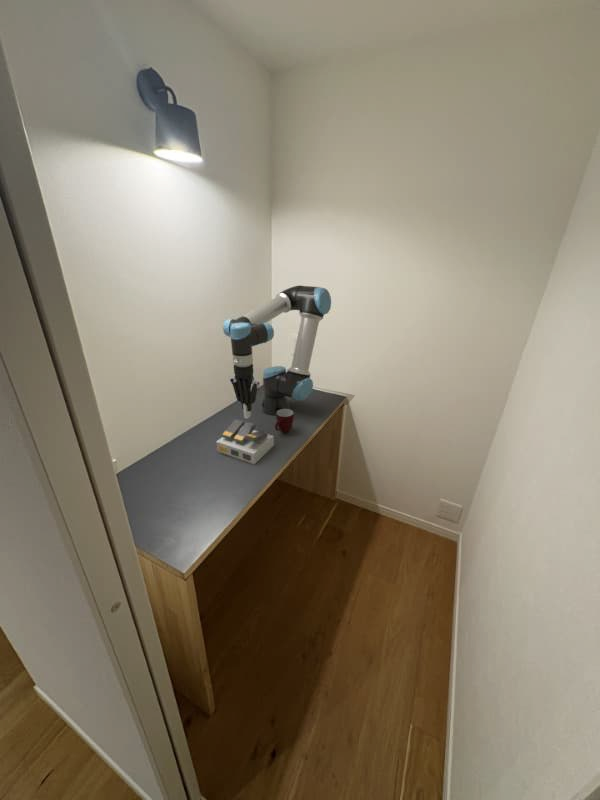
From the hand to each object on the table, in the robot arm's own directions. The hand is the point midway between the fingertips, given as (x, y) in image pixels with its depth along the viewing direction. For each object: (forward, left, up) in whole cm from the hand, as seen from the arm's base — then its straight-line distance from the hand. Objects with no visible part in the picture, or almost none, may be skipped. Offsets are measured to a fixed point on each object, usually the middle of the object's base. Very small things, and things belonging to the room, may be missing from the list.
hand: (247, 416), depth 132 cm
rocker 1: (+3, -6, -6) cm, 9 cm away
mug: (-16, +8, -14) cm, 23 cm away
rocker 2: (+3, 0, -6) cm, 7 cm away
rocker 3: (+3, +6, -6) cm, 9 cm away
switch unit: (+3, 0, -14) cm, 15 cm away
